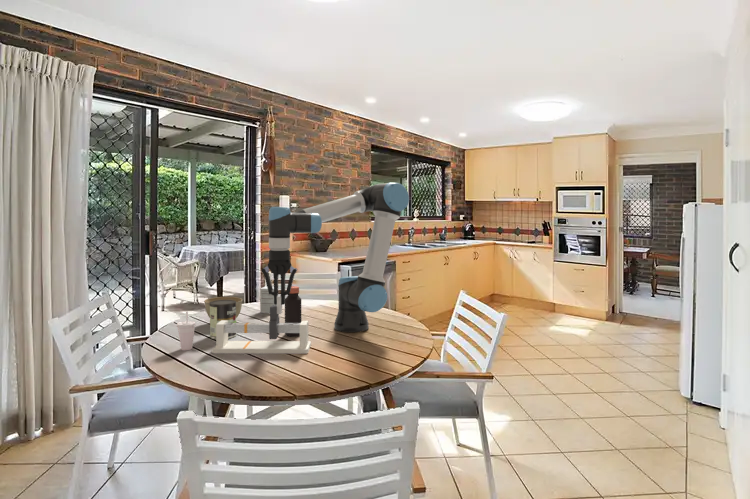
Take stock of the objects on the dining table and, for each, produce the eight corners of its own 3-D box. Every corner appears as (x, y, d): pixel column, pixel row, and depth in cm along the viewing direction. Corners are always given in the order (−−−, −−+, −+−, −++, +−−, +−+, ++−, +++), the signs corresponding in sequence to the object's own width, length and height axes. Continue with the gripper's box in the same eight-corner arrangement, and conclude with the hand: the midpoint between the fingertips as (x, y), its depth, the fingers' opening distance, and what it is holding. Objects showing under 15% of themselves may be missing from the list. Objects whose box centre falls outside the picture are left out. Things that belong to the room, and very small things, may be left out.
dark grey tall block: (279, 334, 162) (279, 304, 161) (276, 339, 155) (275, 308, 154) (273, 334, 162) (272, 304, 161) (269, 339, 155) (269, 308, 154)
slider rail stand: (311, 345, 164) (311, 319, 163) (307, 353, 154) (307, 326, 154) (221, 344, 163) (221, 318, 162) (212, 353, 153) (211, 325, 152)
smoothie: (184, 352, 153) (183, 314, 152) (173, 349, 157) (172, 311, 156) (199, 348, 159) (199, 310, 158) (189, 345, 162) (188, 308, 161)
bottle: (281, 334, 178) (281, 287, 176) (294, 331, 183) (294, 285, 181) (291, 338, 173) (291, 289, 172) (304, 334, 178) (304, 287, 176)
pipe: (303, 331, 160) (303, 322, 160) (302, 333, 157) (302, 324, 157) (224, 330, 159) (224, 322, 159) (222, 333, 156) (222, 324, 156)
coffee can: (241, 333, 179) (241, 300, 178) (228, 340, 169) (227, 305, 168) (219, 331, 181) (218, 298, 180) (204, 338, 171) (204, 303, 170)
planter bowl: (235, 328, 186) (235, 303, 186) (198, 327, 187) (198, 303, 186) (247, 319, 203) (247, 296, 202) (213, 318, 203) (213, 296, 202)
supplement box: (265, 309, 223) (264, 285, 222) (278, 310, 222) (278, 286, 221) (259, 313, 215) (259, 288, 214) (274, 313, 215) (273, 288, 214)
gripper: (298, 248, 160) (298, 311, 162) (263, 248, 159) (263, 310, 161) (296, 250, 152) (295, 315, 154) (259, 250, 152) (259, 315, 154)
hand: (279, 313), depth 158 cm, fingers closed
